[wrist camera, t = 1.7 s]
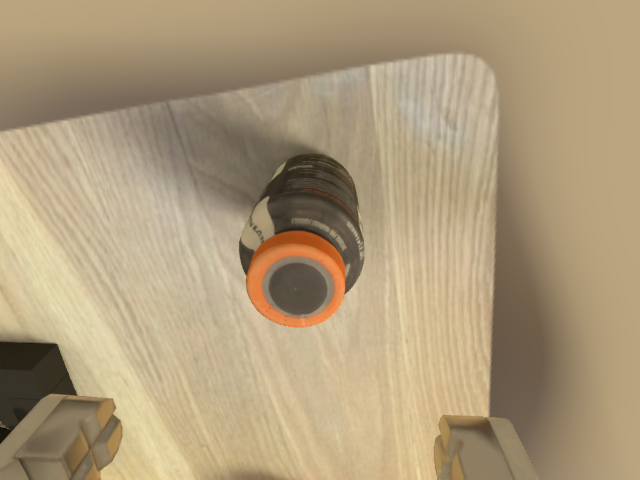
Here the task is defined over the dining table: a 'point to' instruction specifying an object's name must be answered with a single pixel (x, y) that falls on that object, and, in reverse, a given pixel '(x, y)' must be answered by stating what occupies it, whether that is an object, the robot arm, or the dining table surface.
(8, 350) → the socket pad
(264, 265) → the pill bottle
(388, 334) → the dining table surface
